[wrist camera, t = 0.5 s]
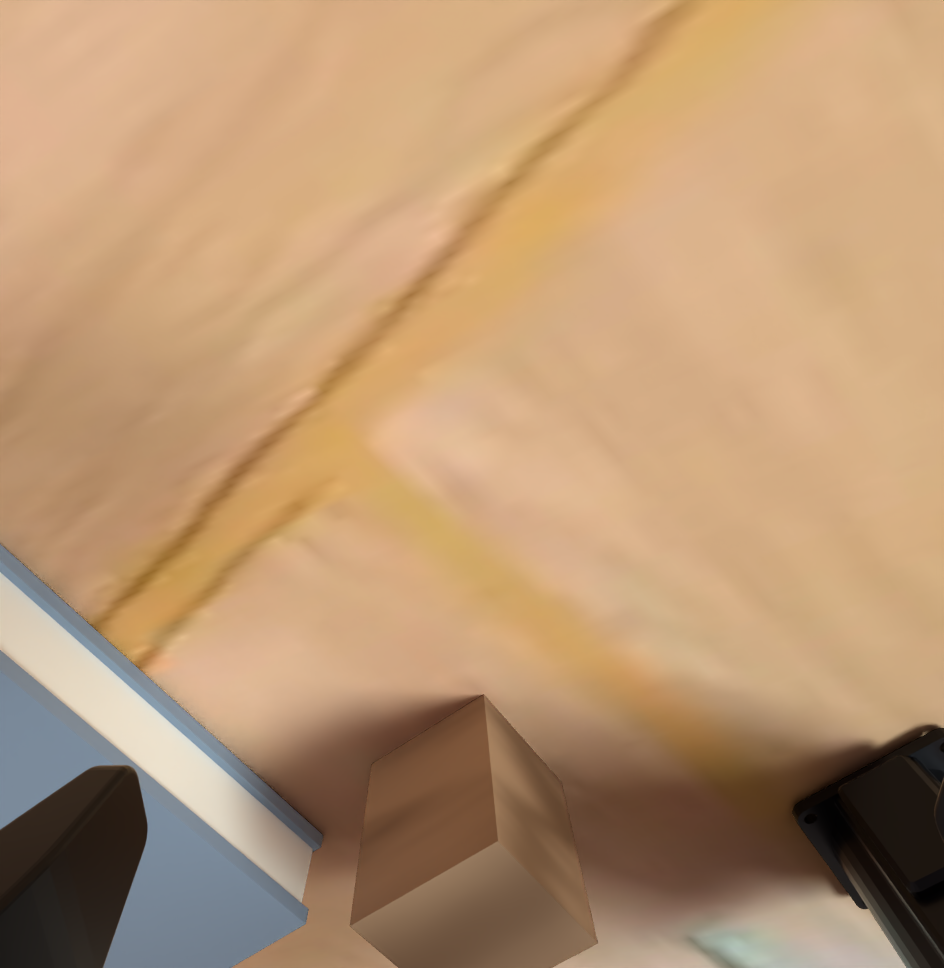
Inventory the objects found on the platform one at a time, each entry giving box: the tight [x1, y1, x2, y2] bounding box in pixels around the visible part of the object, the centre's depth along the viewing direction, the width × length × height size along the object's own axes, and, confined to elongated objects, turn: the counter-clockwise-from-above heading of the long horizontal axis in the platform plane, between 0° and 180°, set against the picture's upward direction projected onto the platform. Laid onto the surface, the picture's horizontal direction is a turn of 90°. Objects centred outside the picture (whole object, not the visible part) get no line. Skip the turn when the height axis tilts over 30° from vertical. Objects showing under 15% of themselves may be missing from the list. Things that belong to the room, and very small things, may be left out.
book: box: [0, 544, 323, 968], centre depth 21 cm, size 16×12×3 cm
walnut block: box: [350, 695, 598, 968], centre depth 21 cm, size 5×5×6 cm
